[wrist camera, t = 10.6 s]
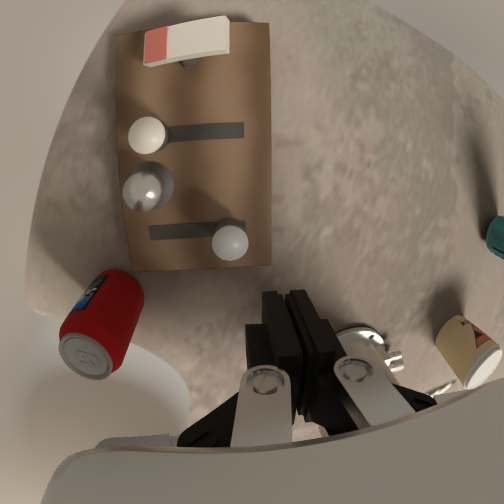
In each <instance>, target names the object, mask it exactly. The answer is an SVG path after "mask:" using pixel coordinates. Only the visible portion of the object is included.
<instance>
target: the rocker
mask: <svg viewBox="0 0 504 504" xmlns="http://www.w3.org/2000/svg"><path fill="white" fill-rule="evenodd" d="M229 24H230V21H229V19H228V18H227V17H226V16H225V15H224V16H217V17H211V18H205V19H200V20H194V21H190V22H185V23H180V24H176V25H172V26H164V27H160V28H157V29H153V30H150V31H147V32H146V33H145V41H144V59H143V65H146V66H149V67H153V66H158V65H162V64H167V63H171V62H176V61H181V60H187V59H192V58H198V57H205V56H212V55H220V54H229Z"/></svg>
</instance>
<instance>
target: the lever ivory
mask: <svg viewBox="0 0 504 504" xmlns="http://www.w3.org/2000/svg"><path fill="white" fill-rule="evenodd" d="M170 137H171V133H170V129H169V127H168V125H167V124H166V123H164V122H163V121H160V120H158V119H156V118H153V117H143V118H140V119H138V120H137V121H135V122H134V123H133V125H132V126H131V128H130V130H129V133H128V140H129V144H130V146H131V147H132V149H133V150H134V151H136V152H138V153H140V154H149V153H153V152H157V151H160V150H162V149H164V148H165V147H166V146H167V144H168V143H169V141H170Z"/></svg>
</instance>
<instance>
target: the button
mask: <svg viewBox="0 0 504 504" xmlns="http://www.w3.org/2000/svg"><path fill="white" fill-rule="evenodd" d="M164 191H165V185H164V181H163V179H162V178H161V176H160V175H159V174H158V173H156V172H154V171H151V170H144V171H141V172H138V173H136V174H134V175H132V176H130V177H129V178H128V179H127V181H126V182H125V184H124V187H123V197H124V200H125V202H126V204H127V205H128V206H129V207H130V208H131V209H133V210H135V211H139V212H144V211H148V210H150V209H152V208H153V207H154V206H155V205H156V204H157V203H158V202H159V201H160V200H161V199H162V197H163V195H164Z"/></svg>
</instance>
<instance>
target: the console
mask: <svg viewBox="0 0 504 504" xmlns="http://www.w3.org/2000/svg"><path fill="white" fill-rule="evenodd" d="M155 29H157V28H155ZM150 30H153V29H149V30H143V31H138V32H133V33H128V34H124V35H119V44H118V58H117V78H116V129H117V151H118V165H119V177H120V188H121V197H122V205H123V213H124V221H125V227H126V234H127V240H128V246H129V252H130V258H131V263H132V268H133V272H149V271H171V270H192V269H211V268H230V267H248V266H265V265H271V78H270V37H269V23H258V22H230V24H229V54H220V55H212V56H205V57H198V58H192V59H187V60H181V61H176V62H171V63H167V64H162V65H158V66H153V67H149V66H146V65H143V59H144V41H145V33H146V32H147V31H150ZM143 117H153V118H156V119H158V120H160V121H163V122H164V123H166V124H167V125H168V127H169V129H170V133H171V137H170V141H169V143H168V144H167V146H166V147H165V148H164V149H162V150H160V151H157V152H153V153H149V154H140V153H138V152H136V151H134V150H133V149H132V147H131V146H130V144H129V140H128V133H129V130H130V128H131V126H132V125H133V123H134V122H135V121H137V120H138V119H140V118H143ZM144 170H151V171H154V172H156V173H158V174H159V175H160V176H161V178H162V179H163V181H164V185H165V191H164V195H163V197H162V199H161V200H160V201H159V202H158V203H157V204H156V205H155V206H154V207H153V208H152V209H150V210H148V211H144V212H139V211H135V210H133V209H131V208H130V207H129V206H128V205H127V204H126V202H125V200H124V197H123V187H124V184H125V182H126V181H127V179H128V178H129V177H130V176H132V175H134V174H136V173H138V172H141V171H144ZM228 217H231V218H235V219H237V220H239V221H240V222H241V223H242V224H243V226H244V229H245V233H246V235H247V238H248V249H247V251H246V253H245V254H244V255H243V256H242V257H241V258H239V259H236V260H232V261H228V260H224V259H221V258H220V257H218V256H217V255H216V254H215V252H214V250H213V247H212V240H213V232H214V227H215V225H216V224H217V222H219V221H220V220H221V219H224V218H228Z"/></svg>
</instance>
